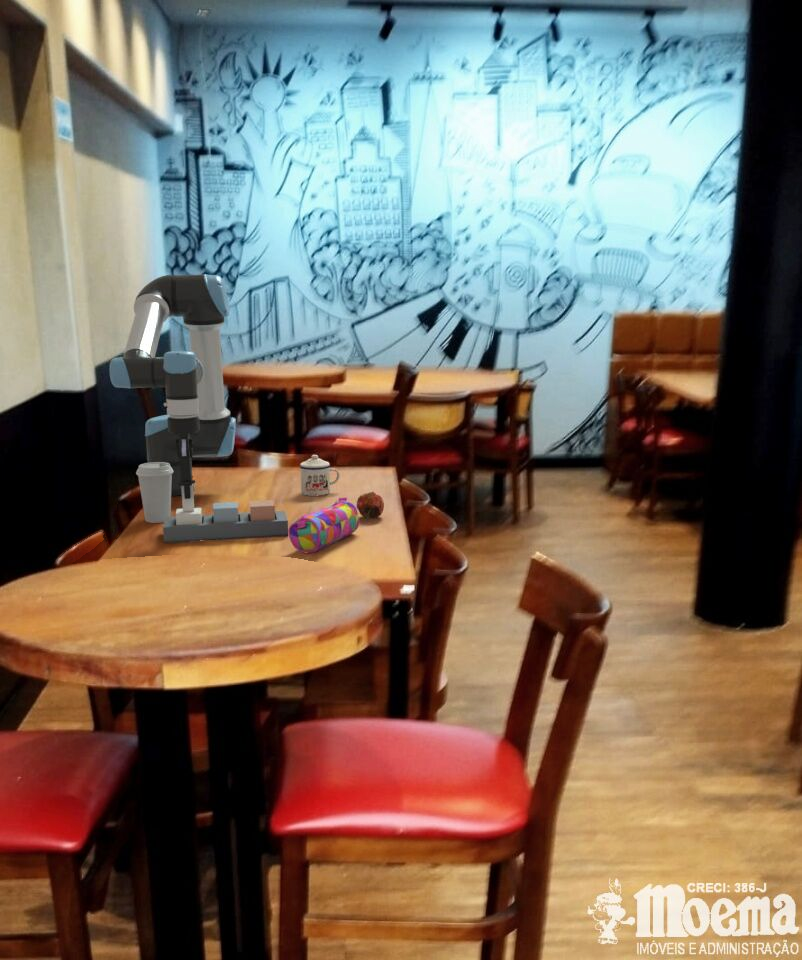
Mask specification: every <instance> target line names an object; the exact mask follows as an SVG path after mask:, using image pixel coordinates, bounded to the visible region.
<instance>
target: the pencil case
mask: <svg viewBox="0 0 802 960" xmlns="http://www.w3.org/2000/svg"><path fill="white" fill-rule="evenodd" d="M347 499H348V497H338V499H337V500H335V501H334V502H333V503H332V504H331V503H330V505H328V506H326V507H325V508H322V509H319V510H317V511H314V512H311V513H309V514H304V515H302V516H301V517H300V518H297V519H296V520H295V521H293V522H292V523H291V525H289V526H288V537H289V540H290V542H291V544H292V546H293V548H294V549H296V550H297V551H299V552H301V553H303V552H308V553H307V554H312V553H315V552H317V550H320V549H322V548H326V547H328V546H329V545H331V544H333V543H336V542H337V541H339V540H341V539H342V538H345V537H347V536H350V535H352V534H353V533H355V532H356V531H357V530H358V528H359V525H360V517H359V516H360V515H359V511H358V509H357V506H355V504H353V503H352V502H349V501H348V500H347Z"/></svg>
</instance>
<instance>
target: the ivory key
mask: <svg viewBox="0 0 802 960" xmlns="http://www.w3.org/2000/svg"><path fill="white" fill-rule="evenodd" d="M202 512H203V511H202V507H194V511H183V508H176V512H175V517H176V525H189V524H202V515H203V514H202Z"/></svg>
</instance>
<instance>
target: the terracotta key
mask: <svg viewBox="0 0 802 960" xmlns="http://www.w3.org/2000/svg"><path fill="white" fill-rule="evenodd" d="M275 509H276V507H275V501H274V499H269V500H268V499H267V500H266V499H265V500H250V501H249V513H250V521H261V520H275V511H276V510H275Z"/></svg>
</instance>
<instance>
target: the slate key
mask: <svg viewBox="0 0 802 960" xmlns="http://www.w3.org/2000/svg"><path fill="white" fill-rule="evenodd" d="M212 504H213V505H212V509H213V510H212V512H213V514H212V515H213V516H214V523H225V522H239V520H238V513H239V504H238V501H227V502H213V503H212Z"/></svg>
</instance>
